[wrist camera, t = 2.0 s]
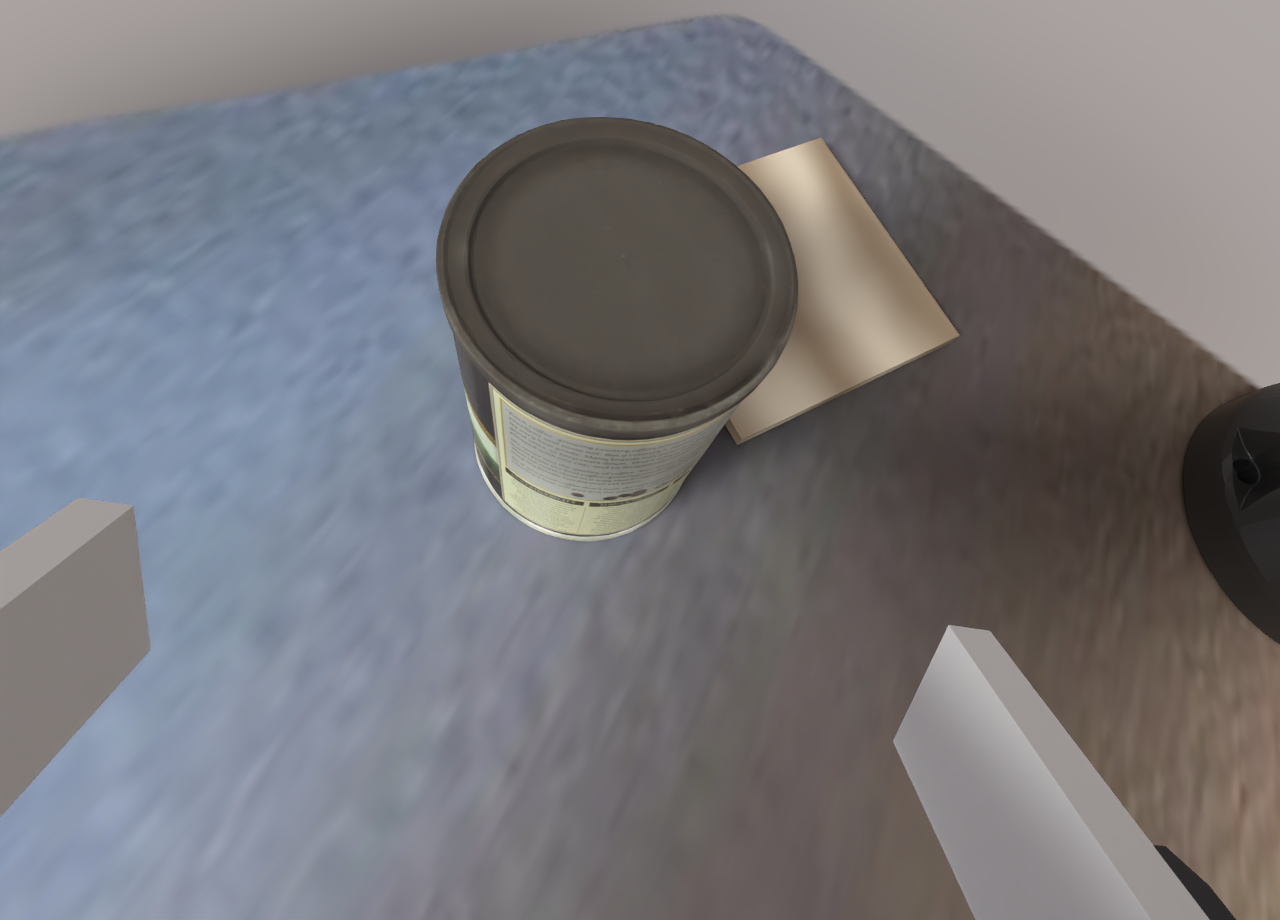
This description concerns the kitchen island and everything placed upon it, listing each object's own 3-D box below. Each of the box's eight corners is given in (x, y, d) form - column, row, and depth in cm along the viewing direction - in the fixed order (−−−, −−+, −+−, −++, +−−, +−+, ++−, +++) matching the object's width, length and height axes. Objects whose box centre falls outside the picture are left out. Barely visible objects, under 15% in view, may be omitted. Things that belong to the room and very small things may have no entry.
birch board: (815, 148, 41) (821, 137, 40) (951, 342, 38) (959, 335, 37) (604, 220, 37) (606, 210, 36) (737, 445, 34) (741, 439, 33)
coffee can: (425, 427, 32) (353, 231, 18) (589, 302, 35) (627, 62, 22) (579, 593, 30) (621, 509, 17) (735, 446, 34) (869, 281, 21)
